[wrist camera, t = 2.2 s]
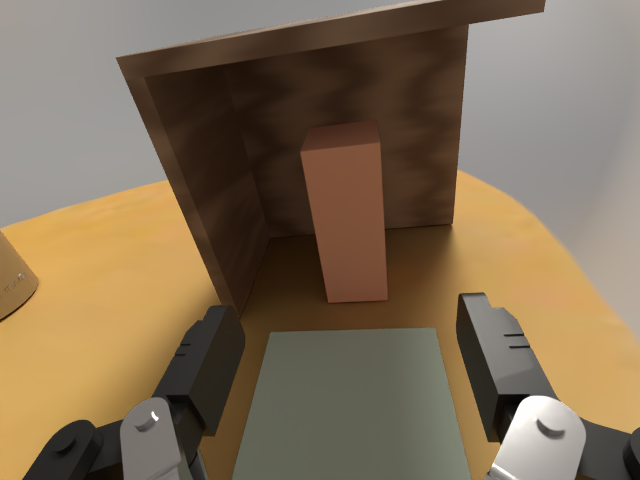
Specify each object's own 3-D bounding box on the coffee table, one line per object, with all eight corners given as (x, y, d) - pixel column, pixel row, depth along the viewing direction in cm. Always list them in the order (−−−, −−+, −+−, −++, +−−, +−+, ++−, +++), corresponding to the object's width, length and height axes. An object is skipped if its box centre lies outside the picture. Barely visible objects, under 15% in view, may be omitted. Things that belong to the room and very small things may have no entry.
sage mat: (213, 569, 14) (208, 565, 14) (272, 337, 24) (270, 332, 24) (495, 594, 12) (498, 591, 12) (434, 333, 22) (434, 327, 22)
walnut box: (227, 318, 26) (115, 57, 16) (263, 232, 36) (206, 37, 26) (489, 308, 23) (548, -19, 13) (450, 218, 33) (467, -9, 23)
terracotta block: (328, 302, 26) (300, 151, 19) (332, 265, 30) (309, 128, 23) (388, 300, 25) (380, 142, 19) (384, 262, 29) (376, 119, 22)
